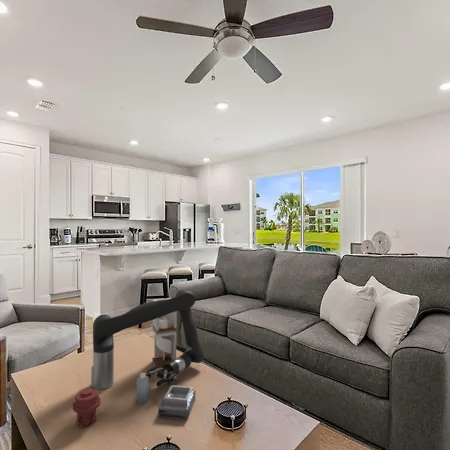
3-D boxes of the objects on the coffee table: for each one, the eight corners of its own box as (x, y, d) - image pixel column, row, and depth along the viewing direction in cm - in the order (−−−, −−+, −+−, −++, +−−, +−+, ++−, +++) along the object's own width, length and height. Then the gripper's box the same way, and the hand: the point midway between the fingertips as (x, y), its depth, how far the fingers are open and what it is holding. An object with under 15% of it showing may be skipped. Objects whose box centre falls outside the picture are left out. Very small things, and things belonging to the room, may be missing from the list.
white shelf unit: (152, 361, 174) (152, 299, 173) (170, 357, 178) (171, 298, 178) (156, 370, 163) (157, 305, 163) (176, 366, 168) (176, 302, 167)
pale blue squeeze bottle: (134, 403, 134) (134, 376, 133) (139, 397, 139) (139, 370, 138) (145, 404, 133) (145, 377, 133) (150, 397, 138) (150, 371, 138)
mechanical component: (105, 416, 125) (90, 432, 115) (83, 412, 127) (66, 428, 117) (105, 386, 125) (90, 400, 115) (83, 383, 127) (66, 397, 117)
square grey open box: (158, 418, 124) (158, 403, 124) (169, 397, 138) (169, 384, 138) (187, 420, 122) (187, 406, 122) (195, 399, 137) (195, 386, 137)
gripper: (163, 356, 157) (139, 369, 143) (185, 363, 149) (161, 377, 136) (163, 371, 157) (139, 385, 143) (185, 378, 150) (161, 394, 136)
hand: (150, 381), depth 140 cm, fingers open, 8 cm apart
